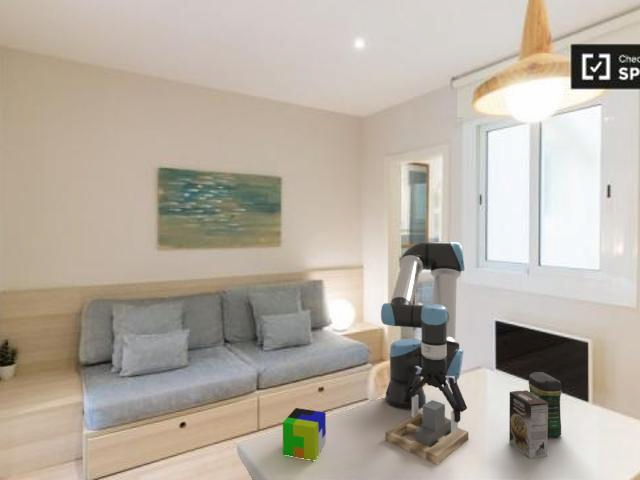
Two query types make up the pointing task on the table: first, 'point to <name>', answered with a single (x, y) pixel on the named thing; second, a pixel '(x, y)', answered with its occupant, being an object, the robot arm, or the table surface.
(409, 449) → the keyhole board
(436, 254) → the robot arm
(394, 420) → the table surface
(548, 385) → the coffee jar
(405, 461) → the table surface
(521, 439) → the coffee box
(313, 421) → the puzzle toy
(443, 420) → the grey stepped block
